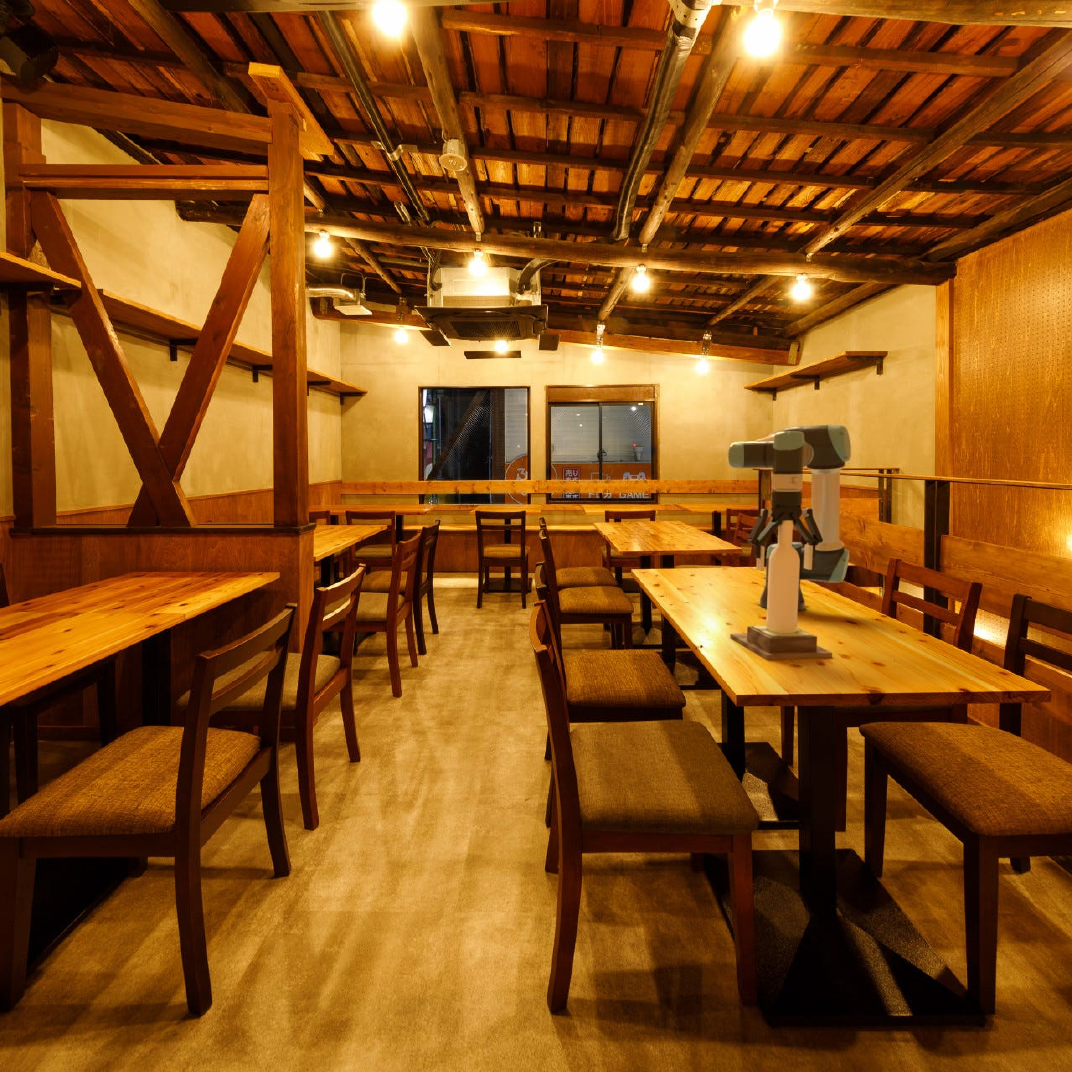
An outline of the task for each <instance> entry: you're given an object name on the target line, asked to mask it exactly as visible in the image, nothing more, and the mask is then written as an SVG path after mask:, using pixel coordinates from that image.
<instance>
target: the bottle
mask: <svg viewBox="0 0 1072 1072" xmlns="http://www.w3.org/2000/svg"><path fill="white" fill-rule="evenodd" d="M777 530H778V531H777V544H778V546H777V547H776V548H774V549H773V550H772V552H771V554H770V557H769V570H768V597H767V608H766V620H765V624H766V625H765V626H766V629H767V630H768V631H771V632H774V633H781V634H792V633H795V632H797V628H798V622H799V621H798V612H799V611H798V589H799V566H800V559H799V555H798V552H797V551H796V550H795V549H794V548H793V547H792V542H793V534H794V533H793V530H794V526H793V521H792V520H783V521H782V525H779V526H778V527H777Z"/></svg>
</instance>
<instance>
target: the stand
mask: <svg viewBox="0 0 1072 1072" xmlns="http://www.w3.org/2000/svg"><path fill="white" fill-rule="evenodd" d="M746 631H747V632H746V633H744V632H743V633H730V637H729V638H730V639H731V640H733V641H734V642H736V643H738V644H740V645H741V646H742V647H744V648H746V649H748V650H750V651H751V652H753V653H755V654H756V655H758V656H760V657H761V658H763V659H765V660H767V661H768V660H769V661H771V660H772V661H773V660H797V659H799V660H800V659H801V660H803V659H826V658H833V652H831V651H829V650H827V649H825V648H823V647H821V646H819V645H818V636H816V635H814V634H812V633H810V632H808V631H805V630H803V629H800V628H799V627H797V632H795V633H792V634H781V633H774V632H771V631H768V630H767V629H766V625H752V626H750V625H748V626H747V630H746Z"/></svg>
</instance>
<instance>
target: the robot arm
mask: <svg viewBox="0 0 1072 1072" xmlns="http://www.w3.org/2000/svg"><path fill="white" fill-rule="evenodd" d="M850 438H851V437H850V434H849V431H848V429H847V427H846V426H845V425H841V424H840V425H839V424H821V425H820V424H819V425H803V426H801V425H799V426H792V427H787V428H782V429H780V430H776V431H773V432H771V433H769V434H767V436H766V437H762V438H758V439H755V440H751V441H736V442H732V443H731V444H730V445H729V448H728V451H727V452H728V453H727V459H728V464H729V465H730V467H731V468H734V469H757V468H758V469H764V468H765V469H770V468H771V469H772V477H771V480H772V481H771V489H772V490H773V491H772V492H771V500H770V501H771V509H767V508H761V509H759V515H758V518H757V519H756V522H755V523H754V525H753V528H752V530H751V531H750V534H749V536H748V538H747V539H746V542H747V543H748V544H750V545H753V546H754V547H753V557H754V559H756V565H755V566H756V568H755V569H756V570H757V571H760V572H765V585H764V587H763V591H762V593H761V596H760V598H759V606H760V607H761V608H764V609H767V597H768V570H769V557H770V554H771V552H772V550H773V549H774V548H776V547H777V546H778V543H774V544H770V545H769V546H768V547H767V549H766V551H767V552H766V556H765V546H764V545H763V544H764V543H765V542H766V540H767V539H768V538H769V537H770V536H771V535H772V533H773V532H774V531H775V530H776V529H778V526H779V525H782V521H783V520H792V521H793V527H795V529H796V530H797V531H798V532H799V534H800V535H801V536H802V537H803V539H804V540H805V542H806V544H803V543H802V542H801V541H799V542H796V541H795V542H793V541H792V547H793V548H794V549H795V550H796V551H797V552H798V555H799V559H800V566H799V589H798V612H799V611H803V610H805V609H806V608H805V607H806V601H805V598H804V595H803V592H802V588H801V581H802V580H803V581H813V582H821V583H823V582H824V583H829V584H830V583H837V584H838V583H842V582H843V581H844V579H845V577H846V574H847V569H848V566H849V560H850V550H849V549H847V548H845V543H844V542H843V541H842V539H840V510H841V508H840V506H841V505H840V504H841V503H840V501H841V496H840V495H841V494H840V491H841V486H840V485H841V481H840V479H841V478H840V477H841V476H840V475H841V471H842V470H843V469H844V468H845V467H846V462H848V461H850V459H851V456H852V455H851V454H852V452H851V451H852V448H851V447H852V446H851V445H852V444H851V439H850ZM805 467H806V469H807V470H808V471H809V472H811V508H807V507H805V508H803V509H802V504H803V503H802V502H803V492H802V491H801V490H802V489H803V480H804V479H803V477H804V476H803V475H804V468H805ZM801 516H802V517H804V521H805V523H806V525H807V528H808V529H807V528H806V527H805V525H804V522H803V521H802V520H801V519H800V518H801ZM769 517H771V519H770V520H769V521H768V524H767V526H766V527H765V525H766V522H767V520H768V518H769ZM764 527H765V528H764ZM763 528H764V529H763ZM765 559H766V561H765ZM765 562H766V563H765ZM765 564H766V566H765Z"/></svg>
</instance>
